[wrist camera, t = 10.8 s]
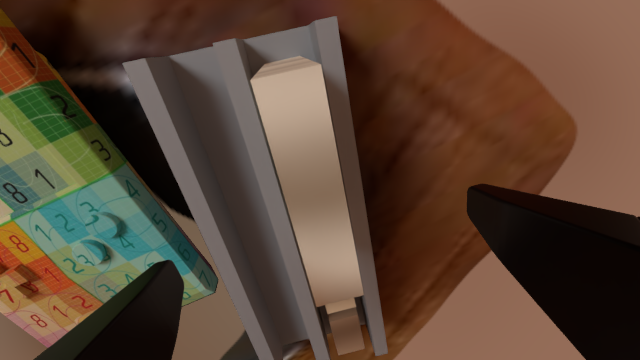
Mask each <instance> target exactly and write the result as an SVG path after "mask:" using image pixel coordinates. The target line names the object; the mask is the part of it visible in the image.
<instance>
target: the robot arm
mask: <svg viewBox="0 0 640 360" xmlns="http://www.w3.org/2000/svg"><path fill="white" fill-rule="evenodd" d="M467 214H468V216H469V218H470V220H471V221H472V222H473V224H474V225H475V227H476V228H477V230H478V231H479V232H480V234H481V235H482V237H483V238H484V240H485V241H486V242H487V244H488V245H489V247H490V248H491V250H492V251H493V252H494V254H495V255H496V256H497V257H498V259H499V260H500V261H501V262H502V264H503V265H504V266H505V267H506V268H507V269H508V271H510V273H511V274H512V275H513V276H514V277H515V279H516V280H517V281H518V282H519V283H520V284H521V285H522V287H523V288H524V289H525V290H526V291H527V292H528V294H529V295H530V296H531V297H532V298H533V299H534V301H535V302H536V303H537V304H538V305H539V306H540V307H541V308H542V310H543V311H544V312H545V313H546V314H547V315H548V316H549V318H550V319H551V320H552V321H553V322H554V324H556V326H557V327H558V328H559V329H560V330H561V332H563V334H564V335H565V336H566V337H567V338H568V340H569V341H570V342H571V343H572V344H573V345H574V347H575V348H576V349H577V350H578V351H579V352H580V353H581V355H582V356H583V357H584V358H585V359H586V360H640V217H636V216H634V215H630V214H625V213H620V212H616V211H611V210H606V209H601V208H597V207H592V206H587V205H582V204H577V203H573V202H568V201H563V200H558V199H553V198H549V197H544V196H540V195H535V194H530V193H525V192H521V191H516V190H511V189H506V188H502V187H497V186H492V185H487V184H478V185H474V186H471V187H469V188H468V191H467ZM183 293H184V281H183V278H182V277H181V275H180V273H179V271H178V269H177V267H176V266H175V264H174V262H173V261H172V260H164V261H160V262H157V263H155V264H153V265H152V266H151V267H149V268H148V269H147V270H146V271H144V272H143V273H142V274H141V275H139V276H138V277H137V278H136V279H134V280H133V281H132V282H131V283H129V284H128V285H127V286H126V287H124V288H123V289H122V290H120V291H119V292H118V293H117V294H115V295H114V296H113V297H112V298H110V299H109V300H108V301H107V302H105V303H104V304H103V305H102V306H100V307H99V308H98V309H97V310H95V311H94V312H93V313H91V314H90V315H89V316H88V317H86V318H85V319H84V320H83V321H81V322H80V323H79V324H78V325H76V326H75V327H74V328H73V329H71V330H70V331H69V332H68V333H66V334H65V335H64V336H63V337H61V338H60V339H59V340H57V341H56V342H55V343H54V344H52V345H51V346H50V347H49V348H47V349H46V350H45V351H44V352H42V353H41V354H40V355H39V356H37V357H36V358H35V359H34V360H171V359H172V355H173V350H174V347H175V342H176V338H177V333H178V327H179V320H180V313H181V307H182V300H183Z"/></svg>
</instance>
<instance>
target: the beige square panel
mask: <svg viewBox="0 0 640 360" xmlns="http://www.w3.org/2000/svg"><path fill="white" fill-rule="evenodd" d="M250 81H251V85H252V88H253V91H254V95H255V98H256V102H257V105H258V108H259V112H260V115H261V119H262V122H263V126H264V129H265V132H266V136H267V139H268V143H269V146H270V150H271V153H272V156H273V160H274V163H275V167H276V170H277V174H278V177H279V180H280V184H281V187H282V191H283V194H284V197H285V201H286V204H287V208H288V211H289V215H290V218H291V221H292V225H293V228H294V232H295V235H296V239H297V242H298V245H299V249H300V252H301V256H302V259H303V263H304V266H305V269H306V273H307V276H308V280H309V283H310V286H311V290H312V293H313V297H314V300H315V304H316V307H319V306H323V305H327V304H331V303H335V302H339V301H343V300H347V299H351V298H355V297H359V296H363V295H364V293H363V287H362V282H361V277H360V271H359V266H358V261H357V255H356V250H355V244H354V239H353V234H352V228H351V223H350V218H349V212H348V207H347V201H346V196H345V191H344V185H343V180H342V175H341V169H340V164H339V158H338V153H337V148H336V142H335V137H334V132H333V126H332V121H331V115H330V110H329V105H328V99H327V94H326V89H325V83H324V78H323V73H322V67H321V64H319V63H316V62H314V61H311V60H309V59H306V58H304V57H301V56H297V57H293V58H288V59H284V60H280V61H275V62H271V63H266V64H264V65H263V66H262V67H261V69H260V70H259V71H258V72H257V73H256V74H255V76H254V77H253V78H252V79H251V80H250Z"/></svg>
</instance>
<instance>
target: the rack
mask: <svg viewBox="0 0 640 360" xmlns="http://www.w3.org/2000/svg"><path fill="white" fill-rule="evenodd" d="M297 56H301V57H304V58H306V59H309V60H311V61H314V62H316V63H319V64H321V67H322V73H323V78H324V83H325V89H326V94H327V99H328V105H329V110H330V115H331V121H332V126H333V132H334V137H335V142H336V148H337V153H338V158H339V164H340V169H341V175H342V180H343V185H344V191H345V196H346V201H347V207H348V212H349V218H350V223H351V228H352V234H353V239H354V244H355V250H356V255H357V261H358V266H359V271H360V277H361V282H362V287H363V293H364V295H363V296H359V297H355V298H354V299H355V304H356V310H357V313H358V317H359V322H360V325H364V324H366V327H367V330H368V333H369V336H370V339H371V342H372V346H373V349H374V352H375V355H376V356H379V355H382V354H386V353H388V350H387V344H386V337H385V331H384V324H383V318H382V311H381V305H380V298H379V291H378V285H377V278H376V272H375V265H374V259H373V252H372V246H371V239H370V233H369V226H368V219H367V213H366V206H365V200H364V193H363V187H362V180H361V174H360V167H359V161H358V154H357V147H356V141H355V134H354V128H353V121H352V115H351V108H350V102H349V95H348V89H347V82H346V75H345V69H344V62H343V56H342V49H341V43H340V36H339V30H338V23H337V16H334V17H330V18H325V19H321V20H316V21H314V22H312V23H311V24H310V25H308V26H304V27H299V28H295V29H290V30H286V31H281V32H277V33H272V34H267V35H263V36H258V37H254V38H249V39H245V40H240V39H236V38H234V39H230V40H225V41H221V42H216V43H213V47H209V48H204V49H199V50H195V51H190V52H186V53H181V54H177V55H172V56H166V57H154V58H143V59H139V60H134V61H130V62H125V63H122V64H123V66H124V68H125V71H126V73H127V75H128V77H129V79H130V81H131V84H132V86H133V88H134V90H135V92H136V94H137V96H138V99H139V101H140V103H141V105H142V107H143V109H144V112H145V114H146V116H147V118H148V120H149V122H150V125H151V127H152V129H153V131H154V133H155V135H156V137H157V140H158V142H159V144H160V146H161V148H162V150H163V153H164V155H165V157H166V159H167V161H168V163H169V165H170V168H171V170H172V172H173V174H174V176H175V178H176V181H177V183H178V185H179V187H180V189H181V191H182V194H183V196H184V198H185V200H186V202H187V204H188V206H189V209H190V211H191V213H192V215H193V217H194V219H195V222H196V224H197V226H198V228H199V230H200V232H201V234H202V237H203V239H204V241H205V243H206V245H207V247H208V250H209V252H210V254H211V256H212V258H213V260H214V262H215V265H216V267H217V269H218V271H219V273H220V275H221V278H222V280H223V282H224V284H225V286H226V288H227V291H228V293H229V295H230V297H231V299H232V301H233V304H234V306H235V308H236V310H237V312H238V314H239V316H240V319H241V321H242V323H243V325H244V327H245V329H246V332H247V334H248V336H249V338H250V340H251V342H252V344H253V347H254V349H255V351H256V353H257V355H258V357H259V360H283V345H286V344H290V343H293V342H297V341H301V340H305V339H310V342H311V345H312V348H313V351H314V354H315V357H316V360H331V358H330V352H329V346H328V340H327V334H329V333H332V330H331V326H330V323H329V317H328V314H327V310H326V307H325V305H323V306H319V307H316V304H315V300H314V297H313V293H312V290H311V286H310V283H309V280H308V276H307V273H306V269H305V266H304V263H303V259H302V256H301V252H300V249H299V245H298V242H297V239H296V235H295V232H294V228H293V225H292V221H291V218H290V215H289V211H288V208H287V204H286V201H285V197H284V194H283V191H282V187H281V184H280V180H279V177H278V174H277V170H276V167H275V163H274V160H273V156H272V153H271V150H270V146H269V143H268V139H267V136H266V132H265V129H264V126H263V122H262V119H261V115H260V112H259V108H258V105H257V102H256V98H255V95H254V91H253V88H252V85H251V81H250V80H251V79H252V78H253V77H254V76H255V74H256V73H257V72H258V71H259V70H260V69H261V67H262V66H263V65H264V64H266V63H271V62H275V61H280V60H284V59H288V58H293V57H297Z"/></svg>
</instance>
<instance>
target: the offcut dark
mask: <svg viewBox="0 0 640 360" xmlns="http://www.w3.org/2000/svg"><path fill="white" fill-rule="evenodd" d="M328 317H329V323H330V326H331V330H332V334H333V337H334V341H335V345H336V348H337V352H338V355H342V354H346V353H350V352H354V351H358V350H361V349H365V347H364V342H363V337H362V332H361V327H360V322H359V317H358V313H357V310H356V307H354V308H350V309H346V310H342V311H338V312H334V313H330V314H328Z"/></svg>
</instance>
